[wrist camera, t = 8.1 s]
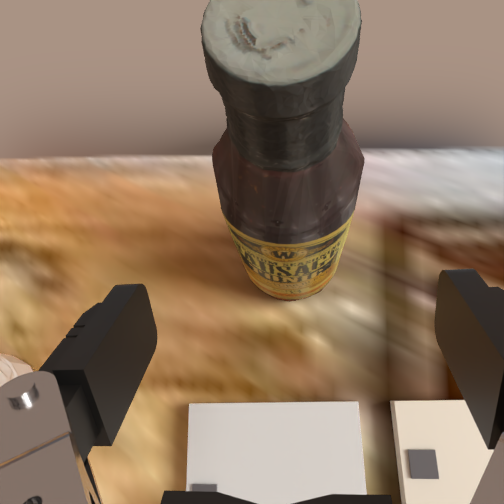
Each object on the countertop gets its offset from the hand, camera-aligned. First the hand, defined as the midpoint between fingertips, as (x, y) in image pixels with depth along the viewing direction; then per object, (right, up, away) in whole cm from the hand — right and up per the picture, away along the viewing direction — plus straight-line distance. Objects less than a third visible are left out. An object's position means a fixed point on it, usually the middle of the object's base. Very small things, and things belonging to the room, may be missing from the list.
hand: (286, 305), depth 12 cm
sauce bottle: (+2, +1, +18) cm, 18 cm away
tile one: (0, -13, +13) cm, 18 cm away
